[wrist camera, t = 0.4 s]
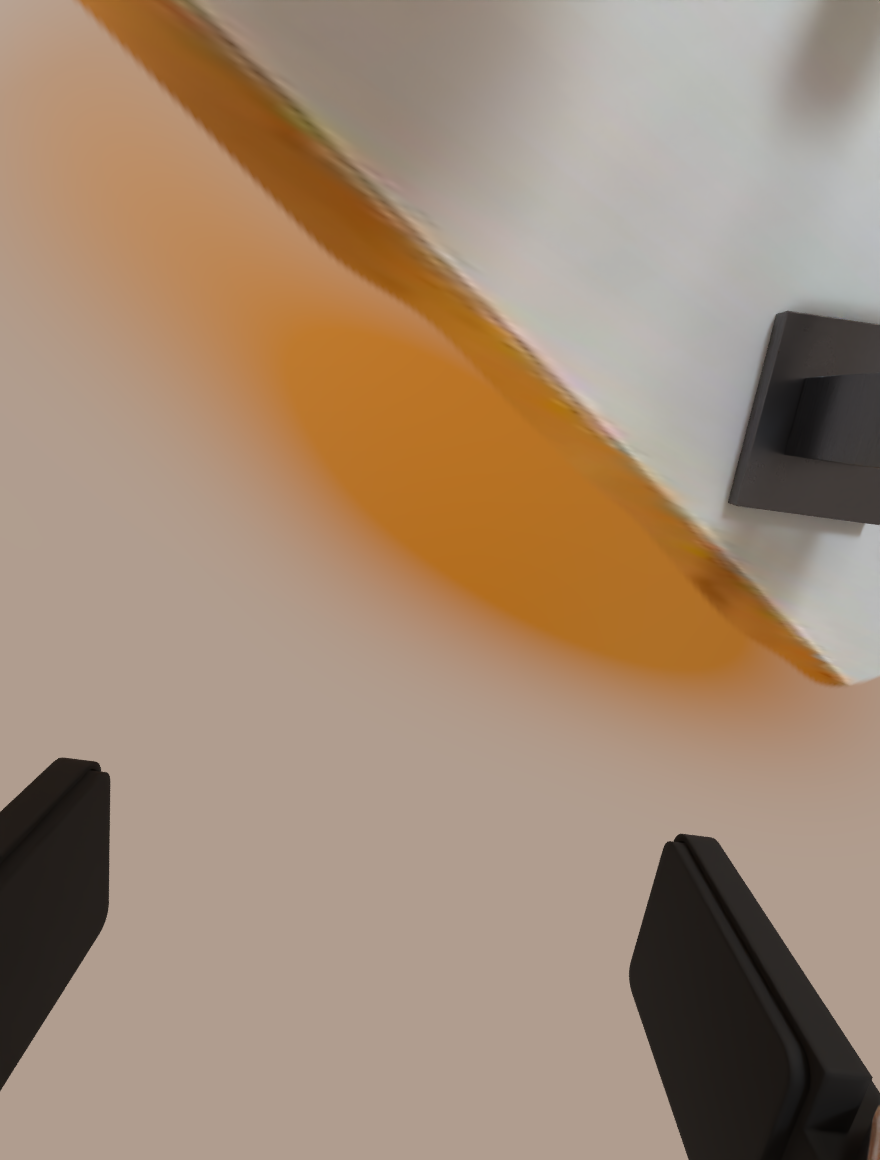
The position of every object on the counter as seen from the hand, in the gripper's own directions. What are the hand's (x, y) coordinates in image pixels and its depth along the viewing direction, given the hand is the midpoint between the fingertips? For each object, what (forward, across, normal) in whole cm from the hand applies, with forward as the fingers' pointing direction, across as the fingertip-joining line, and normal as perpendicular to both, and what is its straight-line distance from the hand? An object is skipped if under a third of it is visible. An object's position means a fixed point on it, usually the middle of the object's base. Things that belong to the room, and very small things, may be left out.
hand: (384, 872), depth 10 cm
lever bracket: (+30, -23, -10) cm, 39 cm away
